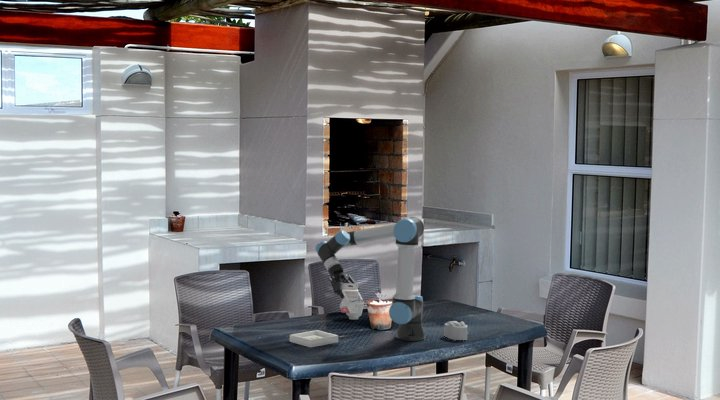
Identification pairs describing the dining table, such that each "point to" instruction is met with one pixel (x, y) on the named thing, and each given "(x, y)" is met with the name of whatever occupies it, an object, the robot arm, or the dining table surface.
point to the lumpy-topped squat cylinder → (455, 330)
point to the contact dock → (313, 338)
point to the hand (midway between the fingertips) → (354, 301)
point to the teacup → (356, 315)
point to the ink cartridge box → (350, 298)
